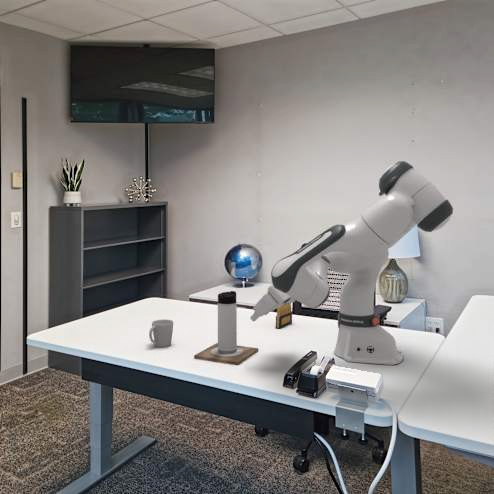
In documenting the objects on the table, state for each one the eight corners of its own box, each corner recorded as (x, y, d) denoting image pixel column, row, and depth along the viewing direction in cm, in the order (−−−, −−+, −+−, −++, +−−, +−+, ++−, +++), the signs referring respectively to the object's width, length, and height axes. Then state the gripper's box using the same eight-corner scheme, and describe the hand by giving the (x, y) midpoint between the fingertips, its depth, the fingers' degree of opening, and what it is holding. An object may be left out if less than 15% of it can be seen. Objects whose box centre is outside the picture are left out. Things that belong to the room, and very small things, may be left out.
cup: (178, 344, 177) (177, 321, 176) (158, 351, 169) (157, 327, 168) (162, 341, 181) (162, 318, 181) (142, 347, 173) (142, 323, 172)
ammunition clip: (279, 329, 198) (279, 299, 197) (275, 328, 199) (275, 299, 198) (292, 323, 207) (292, 295, 206) (288, 323, 208) (288, 295, 207)
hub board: (258, 351, 169) (258, 347, 169) (238, 365, 155) (238, 361, 154) (217, 345, 176) (217, 341, 176) (194, 358, 161) (194, 354, 161)
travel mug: (241, 351, 165) (241, 292, 163) (227, 355, 160) (227, 295, 158) (227, 347, 169) (227, 289, 167) (214, 351, 164) (213, 292, 162)
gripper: (291, 276, 164) (264, 302, 169) (268, 286, 146) (238, 315, 151) (304, 290, 163) (276, 316, 168) (282, 302, 145) (251, 331, 150)
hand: (258, 316), depth 159 cm, fingers open, 8 cm apart
